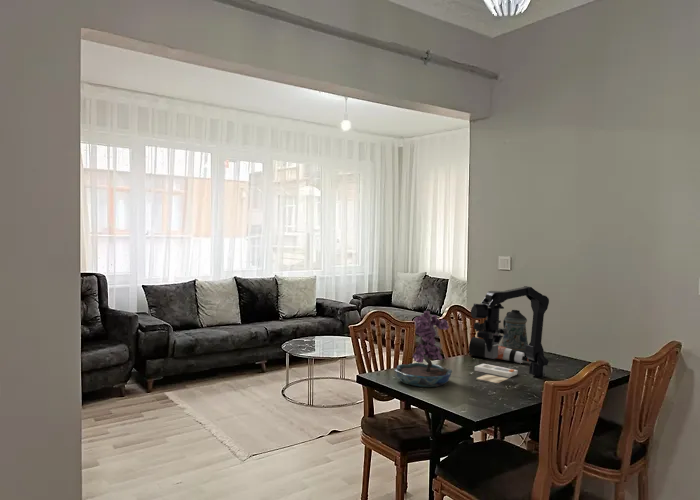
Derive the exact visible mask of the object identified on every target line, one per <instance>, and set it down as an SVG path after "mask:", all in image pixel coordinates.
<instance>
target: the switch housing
mask: <svg viewBox="0 0 700 500" xmlns="http://www.w3.org/2000/svg"><path fill="white" fill-rule="evenodd" d="M474 372H478V373H479V372H480V373H485V374H488V375H493V376H498V377H503V378H508V379H509V378H511V377H514V376H517V375H518V369H513V368H509V367H508V368H507V367H503V366H498V365H493V364H488V363H487V364H486V363H481V364H478V365H475V366H474Z"/></svg>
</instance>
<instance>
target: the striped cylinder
mask: <svg viewBox="0 0 700 500" xmlns="http://www.w3.org/2000/svg"><path fill="white" fill-rule="evenodd" d="M468 353H469V355H471V356H475V357H479V358H482V357H483V359H486V357H485V340H484V339H483V338H480V337H477V336H472V337H471V339H470V341H469V344H468ZM496 359H498V360H503V361H509V362H512V363H518V364H521V363H522V364H523V363H524V362H529V361H528V358H527V356H526V357H525V356H524V353H523V352H519V351H516V350H512V349H509V348H506V347H502V346H501V345H498V358H496ZM529 363H530V362H529Z"/></svg>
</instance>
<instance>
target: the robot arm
mask: <svg viewBox="0 0 700 500" xmlns="http://www.w3.org/2000/svg"><path fill="white" fill-rule="evenodd" d="M520 297H526V298H527V299H528V300H529V301H530V307H531V310H532V325H531V332H530V342H528V345H526V346H525V347H526V350H525V353H526V357H527V358H528V361H529V363H530V365H529V366H528V367H529V368H528V374H530V375H533V376H532V377H533V378H538V379H544V378H546V377H547V374H546V366H548V365H549V360H548V359H547V358H546V357H545V351H544V347H543V345H542V339H543V327H544V317H545V313H546V311H547V310H548V308H549V305H550V298H549V297H548V296H547V295H545V294H544V295H543V294H542V293H541V292H539V291H537V290H535V289H534V288H533V287H532V286H528V285H523V286H522V287H521V286H520V287H518V288H517V287H516V288H513V289H507V290H490V291H489V290H488V291H487V292H486V294H485V296H484V298H483V299H482V300H481V302H480V303H473V306H472V307H471V308H470V316H471V317H472V319H484V321H483V323H480V322H479V321H478V322H474V324H473V329H474V330H475V332H477V333H476V338H480V339H484V340H485V343H486V346H487V350H488V352H490V351H491V349H492V346H493V343H494V342H497V343H498V345H500V342H502V340H503V336H504V335H506V334H507V330H506V329H505V328H504V327H500V324H501V322H502V321H501V320H500V310H501V309H502V310H503V309H505V307H504V305H502V303H504V302H506V301H507V300H510V299H515V298H520ZM528 361H527V362H528Z"/></svg>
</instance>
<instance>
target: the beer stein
mask: <svg viewBox="0 0 700 500" xmlns="http://www.w3.org/2000/svg"><path fill="white" fill-rule="evenodd" d="M502 320H503V323H502V326H503V327H502V328H505V329H506V330H507V334H506V335H502V336H503V337H502V339H501V344H500V346H502V347H506V348H509V349H512V350H516V351H519V352H523V353H524V356H526V353H525V350H526V347H525V346H526V345H529V342H528V334H527V327H526V326H527V325H526V323H527V322H528V319H527V317H526V316H525V315H523V314H522V313H521V312H520V310H517V309H511V311H507V312H506V315H505V316H504V319H502ZM526 357H527V356H526Z"/></svg>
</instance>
